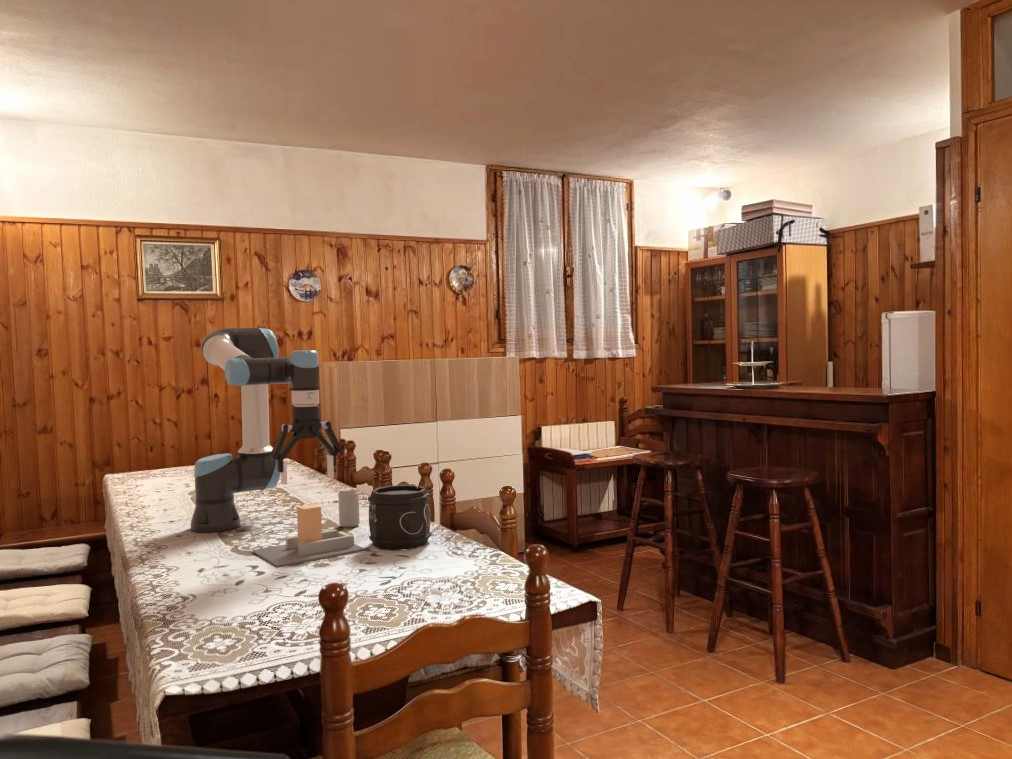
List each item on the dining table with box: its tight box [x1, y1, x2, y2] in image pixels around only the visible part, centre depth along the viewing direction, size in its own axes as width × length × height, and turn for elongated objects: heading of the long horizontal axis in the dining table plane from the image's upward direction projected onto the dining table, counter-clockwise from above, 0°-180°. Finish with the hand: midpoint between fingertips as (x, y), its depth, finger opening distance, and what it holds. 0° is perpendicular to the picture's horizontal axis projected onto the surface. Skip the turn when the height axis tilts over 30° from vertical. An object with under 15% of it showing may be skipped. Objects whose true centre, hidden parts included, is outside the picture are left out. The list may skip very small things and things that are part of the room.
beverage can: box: [337, 487, 361, 529], centre depth 243 cm, size 6×6×12 cm
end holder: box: [252, 529, 366, 568], centre depth 212 cm, size 20×25×4 cm
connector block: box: [296, 503, 323, 544], centre depth 212 cm, size 5×5×12 cm
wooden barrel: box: [367, 484, 432, 551], centre depth 219 cm, size 18×18×16 cm
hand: (307, 481), depth 212 cm, fingers open, 13 cm apart
